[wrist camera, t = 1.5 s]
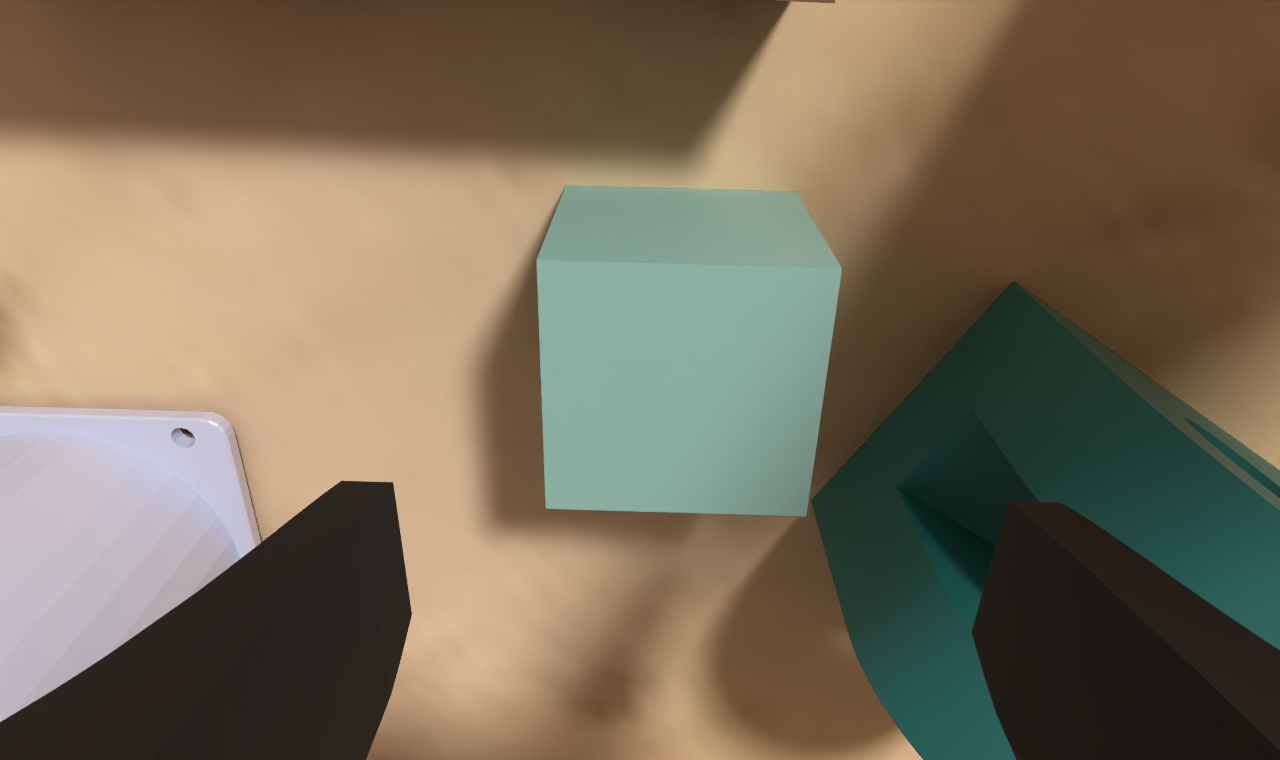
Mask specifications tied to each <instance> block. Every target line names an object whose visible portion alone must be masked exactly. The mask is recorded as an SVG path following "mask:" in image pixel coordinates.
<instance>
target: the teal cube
mask: <svg viewBox="0 0 1280 760" xmlns="http://www.w3.org/2000/svg"><path fill="white" fill-rule="evenodd" d="M536 262H537V289H538V316H539V342H540V369H541V396H542V423H543V450H544V477H545V503H546V509H572V510H606V511H640V512H674V513H708V514H742V515H776V516H806V515H807V508H808V501H809V495H810V488H811V481H812V474H813V467H814V460H815V453H816V446H817V439H818V432H819V425H820V419H821V412H822V405H823V398H824V391H825V384H826V377H827V370H828V363H829V356H830V349H831V342H832V336H833V329H834V322H835V315H836V308H837V301H838V294H839V287H840V280H841V273H842V267H841V266H840V264H839V262H838V261H837V259H836V257H835V256H834V254H833V252H832V251H831V249H830V247H829V246H828V244H827V242H826V240H825V239H824V237H823V235H822V234H821V232H820V230H819V229H818V227H817V225H816V224H815V222H814V220H813V219H812V217H811V215H810V214H809V212H808V210H807V208H806V207H805V205H804V203H803V202H802V200H801V198H800V197H799V195H798V193H797V192H796V191H762V190H725V189H688V188H651V187H615V186H578V185H566V186H565V189H564V191H563V194H562V196H561V199H560V201H559V204H558V207H557V209H556V212H555V214H554V217H553V219H552V222H551V224H550V227H549V229H548V232H547V234H546V237H545V240H544V242H543V245H542V247H541V250H540V252H539V255H538V257H537V260H536Z"/></svg>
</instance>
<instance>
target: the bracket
mask: <svg viewBox="0 0 1280 760" xmlns="http://www.w3.org/2000/svg"><path fill="white" fill-rule="evenodd" d="M1009 501H1024V502H1058V503H1063V504H1065V505H1066V506H1068V507H1070V508H1071V509H1073V510H1075V511H1076V512H1078V513H1080V514H1081V515H1083V516H1084V517H1086V518H1087V519H1089V520H1090V521H1092V522H1093V523H1095V524H1096V525H1098V526H1099V527H1101V528H1102V529H1104V530H1105V531H1107V532H1108V533H1110V534H1111V535H1113V536H1114V537H1116V538H1117V539H1118V540H1120V541H1121V542H1123V543H1124V544H1126V545H1127V546H1129V547H1130V548H1131V549H1133V550H1134V551H1136V552H1137V553H1139V554H1140V555H1141V556H1143V557H1144V558H1146V559H1147V560H1149V561H1150V562H1151V563H1153V564H1154V565H1156V566H1157V567H1159V568H1160V569H1161V570H1163V571H1164V572H1166V573H1167V574H1169V575H1170V576H1171V577H1173V578H1174V579H1176V580H1177V581H1179V582H1180V583H1181V584H1183V585H1184V586H1186V587H1187V588H1189V589H1190V590H1192V591H1193V592H1194V593H1196V594H1197V595H1199V596H1200V597H1202V598H1203V599H1205V600H1206V601H1207V602H1209V603H1210V604H1212V605H1213V606H1215V607H1216V608H1218V609H1219V610H1221V611H1222V612H1223V613H1225V614H1226V615H1228V616H1229V617H1231V618H1232V619H1234V620H1235V621H1237V622H1238V623H1240V624H1241V625H1243V626H1244V627H1246V628H1247V629H1248V630H1250V631H1251V632H1253V633H1254V634H1256V635H1257V636H1259V637H1260V638H1262V639H1263V640H1265V641H1267V642H1268V643H1270V644H1271V645H1273V646H1274V647H1276V648H1277V649H1279V650H1280V470H1278V469H1277V468H1275V467H1274V466H1273V465H1271V464H1270V463H1268V462H1267V461H1266V460H1264V459H1263V458H1261V457H1260V456H1259V455H1257V454H1256V453H1254V452H1253V451H1252V450H1250V449H1249V448H1247V447H1246V446H1245V445H1243V444H1242V443H1240V442H1239V441H1238V440H1236V439H1235V438H1233V437H1232V436H1231V435H1229V434H1228V433H1226V432H1225V431H1224V430H1222V429H1221V428H1219V427H1218V426H1217V425H1215V424H1214V423H1212V422H1211V421H1210V420H1208V419H1207V418H1205V417H1204V416H1203V415H1201V414H1200V413H1198V412H1197V411H1196V410H1194V409H1193V408H1191V407H1190V406H1189V405H1187V404H1186V403H1184V402H1183V401H1182V400H1180V399H1179V398H1177V397H1176V396H1175V395H1173V394H1172V393H1170V392H1169V391H1168V390H1166V389H1165V388H1163V387H1162V386H1161V385H1159V384H1158V383H1156V382H1155V381H1154V380H1152V379H1151V378H1149V377H1148V376H1147V375H1145V374H1144V373H1142V372H1141V371H1140V370H1138V369H1137V368H1135V367H1134V366H1132V365H1131V364H1130V363H1128V362H1127V361H1125V360H1124V359H1123V358H1121V357H1120V356H1118V355H1117V354H1116V353H1114V352H1113V351H1111V350H1110V349H1109V348H1107V347H1106V346H1104V345H1103V344H1102V343H1100V342H1099V341H1097V340H1096V339H1095V338H1093V337H1092V336H1090V335H1089V334H1088V333H1086V332H1085V331H1083V330H1082V329H1081V328H1079V327H1078V326H1076V325H1075V324H1074V323H1072V322H1071V321H1069V320H1068V319H1067V318H1065V317H1064V316H1062V315H1061V314H1060V313H1058V312H1057V311H1055V310H1054V309H1053V308H1051V307H1050V306H1048V305H1047V304H1046V303H1044V302H1043V301H1041V300H1040V299H1039V298H1037V297H1036V296H1034V295H1033V294H1032V293H1030V292H1029V291H1027V290H1026V289H1025V288H1023V287H1022V286H1020V285H1019V284H1018V283H1016V282H1015V281H1014V282H1013V283H1012V284H1011V285H1010V286H1009V287H1008V288H1007V289H1006V290H1005V291H1004V292H1003V294H1002V295H1001V296H1000V297H999V298H998V299H997V300H996V301H995V302H994V303H993V304H992V305H991V307H990V308H989V309H988V310H987V311H986V312H985V313H984V314H983V315H982V316H981V317H980V318H979V320H978V321H977V322H976V323H975V324H974V325H973V326H972V327H971V328H970V329H969V330H968V331H967V333H966V334H965V335H964V336H963V337H962V338H961V339H960V340H959V341H958V342H957V343H956V344H955V345H954V347H953V348H952V349H951V350H950V351H949V352H948V353H947V354H946V355H945V356H944V357H943V358H942V360H941V361H940V362H939V363H938V364H937V365H936V366H935V367H934V368H933V369H932V370H931V371H930V373H929V374H928V375H927V376H926V377H925V378H924V379H923V380H922V381H921V382H920V383H919V384H918V386H917V387H916V388H915V389H914V390H913V391H912V392H911V393H910V394H909V395H908V396H907V397H906V399H905V400H904V401H903V402H902V403H901V404H900V405H899V406H898V407H897V408H896V409H895V410H894V412H893V413H892V414H891V415H890V416H889V417H888V418H887V419H886V420H885V421H884V422H883V423H882V425H881V426H880V427H879V428H878V429H877V430H876V431H875V432H874V433H873V434H872V435H871V436H870V438H869V439H868V440H867V441H866V442H865V443H864V444H863V445H862V446H861V447H860V448H859V449H858V451H857V452H856V453H855V454H854V455H853V456H852V457H851V458H850V459H849V460H848V461H847V462H846V464H845V465H844V466H843V467H842V468H841V469H840V470H839V471H838V472H837V473H836V474H835V475H834V477H833V478H832V479H831V480H830V481H829V482H828V483H827V484H826V485H825V486H824V487H823V488H822V490H821V491H820V492H819V493H818V494H817V495H816V496H815V497H814V498H813V499H812V500H811V502H812V506H813V509H814V513H815V516H816V520H817V523H818V527H819V530H820V534H821V538H822V541H823V545H824V548H825V552H826V555H827V559H828V562H829V566H830V569H831V573H832V577H833V580H834V584H835V587H836V591H837V594H838V598H839V601H840V605H841V608H842V612H843V616H844V619H845V623H846V626H847V630H848V633H849V636H850V639H851V642H852V645H853V648H854V650H855V653H856V655H857V657H858V660H859V662H860V664H861V666H862V668H863V670H864V672H865V674H866V676H867V678H868V680H869V682H870V684H871V685H872V687H873V689H874V691H875V693H876V694H877V696H878V698H879V699H880V701H881V702H882V704H883V706H884V707H885V709H886V710H887V712H888V713H889V715H890V716H891V718H892V719H893V721H894V722H895V724H896V725H897V726H898V728H899V729H900V731H901V732H902V733H903V735H904V736H905V737H906V739H907V740H908V741H909V742H910V744H911V745H912V746H913V748H914V749H915V750H916V752H917V753H918V754H919V755H920V756H921V757H922V759H923V760H1016V758H1015V755H1014V753H1013V751H1012V749H1011V746H1010V744H1009V742H1008V740H1007V737H1006V735H1005V733H1004V731H1003V728H1002V726H1001V724H1000V721H999V719H998V717H997V714H996V711H995V708H994V705H993V702H992V699H991V696H990V693H989V690H988V687H987V683H986V680H985V677H984V674H983V670H982V667H981V663H980V660H979V656H978V653H977V649H976V646H975V642H974V639H973V635H972V629H973V625H974V622H975V618H976V615H977V611H978V607H979V604H980V600H981V597H982V593H983V590H984V586H985V583H986V579H987V576H988V572H989V569H990V565H991V562H992V558H993V555H994V551H995V548H996V544H997V541H998V537H999V534H1000V530H1001V527H1002V523H1003V519H1004V516H1005V512H1006V509H1007V505H1008V502H1009Z"/></svg>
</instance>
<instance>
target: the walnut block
mask: <svg viewBox="0 0 1280 760" xmlns="http://www.w3.org/2000/svg"><path fill="white" fill-rule="evenodd" d="M777 1H799V2H820V3H835V0H777Z"/></svg>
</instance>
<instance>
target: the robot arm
mask: <svg viewBox="0 0 1280 760" xmlns="http://www.w3.org/2000/svg"><path fill="white" fill-rule="evenodd" d="M180 428H184V429H187V430H188V431H190V432H191V433H192V434H193V436H194V437H195V439H193V438H189V437H187V436H186V435H185V434H183V432H182V431H181V429H180ZM411 616H412V613H411V606H410V599H409V592H408V585H407V578H406V570H405V563H404V556H403V549H402V542H401V535H400V528H399V521H398V514H397V507H396V500H395V493H394V486H393V482H360V481H341V482H339V483H338V484H337V485H335V486H334V487H332V488H331V489H330V490H328V491H327V492H325V493H324V494H323V495H321V496H320V497H319V498H318V499H316V500H315V501H314V502H312V503H311V504H310V505H309V506H307V507H306V508H305V509H303V510H302V511H301V512H300V513H298V514H297V515H296V516H295V517H293V518H292V519H291V520H289V521H288V522H287V523H286V524H284V525H283V526H282V527H281V528H279V529H278V530H277V531H276V532H274V533H273V534H272V535H270V536H269V537H268V538H267V539H265V540H264V541H263V542H262V543H261V540H260V536H259V531H258V527H257V523H256V519H255V515H254V511H253V507H252V502H251V498H250V494H249V490H248V486H247V482H246V477H245V473H244V469H243V465H242V461H241V457H240V453H239V448H238V444H237V440H236V436H235V432H234V429H233V427H232V425H231V423H230V422H229V421H228V420H227V419H226V418H224V417H223V416H221V415H219V414H217V413H212V412H203V411H167V410H132V409H97V408H61V407H26V406H0V760H366V758H367V755H368V753H369V750H370V748H371V745H372V742H373V740H374V737H375V735H376V732H377V730H378V727H379V725H380V722H381V720H382V717H383V714H384V712H385V709H386V706H387V704H388V701H389V699H390V696H391V693H392V689H393V686H394V682H395V678H396V675H397V671H398V667H399V664H400V660H401V656H402V652H403V648H404V644H405V640H406V636H407V632H408V628H409V624H410V620H411ZM972 635H973V639H974V642H975V646H976V649H977V653H978V656H979V660H980V663H981V667H982V670H983V674H984V677H985V680H986V683H987V687H988V690H989V693H990V696H991V699H992V702H993V705H994V708H995V711H996V714H997V717H998V719H999V721H1000V724H1001V726H1002V728H1003V731H1004V733H1005V735H1006V737H1007V740H1008V742H1009V744H1010V746H1011V749H1012V751H1013V753H1014V755H1015V758H1016V760H1280V650H1279V649H1277V648H1276V647H1274V646H1273V645H1271V644H1270V643H1268V642H1267V641H1265V640H1263V639H1262V638H1260V637H1259V636H1257V635H1256V634H1254V633H1253V632H1251V631H1250V630H1248V629H1247V628H1246V627H1244V626H1243V625H1241V624H1240V623H1238V622H1237V621H1235V620H1234V619H1232V618H1231V617H1229V616H1228V615H1226V614H1225V613H1223V612H1222V611H1221V610H1219V609H1218V608H1216V607H1215V606H1213V605H1212V604H1210V603H1209V602H1207V601H1206V600H1205V599H1203V598H1202V597H1200V596H1199V595H1197V594H1196V593H1194V592H1193V591H1192V590H1190V589H1189V588H1187V587H1186V586H1184V585H1183V584H1181V583H1180V582H1179V581H1177V580H1176V579H1174V578H1173V577H1171V576H1170V575H1169V574H1167V573H1166V572H1164V571H1163V570H1161V569H1160V568H1159V567H1157V566H1156V565H1154V564H1153V563H1151V562H1150V561H1149V560H1147V559H1146V558H1144V557H1143V556H1141V555H1140V554H1139V553H1137V552H1136V551H1134V550H1133V549H1131V548H1130V547H1129V546H1127V545H1126V544H1124V543H1123V542H1121V541H1120V540H1118V539H1117V538H1116V537H1114V536H1113V535H1111V534H1110V533H1108V532H1107V531H1105V530H1104V529H1102V528H1101V527H1099V526H1098V525H1096V524H1095V523H1093V522H1092V521H1090V520H1089V519H1087V518H1086V517H1084V516H1083V515H1081V514H1080V513H1078V512H1076V511H1075V510H1073V509H1071V508H1070V507H1068V506H1066V505H1065V504H1063V503H1058V502H1024V501H1009V502H1008V505H1007V509H1006V512H1005V516H1004V519H1003V523H1002V527H1001V530H1000V534H999V537H998V541H997V544H996V548H995V551H994V555H993V558H992V562H991V565H990V569H989V572H988V576H987V579H986V583H985V586H984V590H983V593H982V597H981V600H980V604H979V607H978V611H977V615H976V618H975V622H974V625H973V629H972Z"/></svg>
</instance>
